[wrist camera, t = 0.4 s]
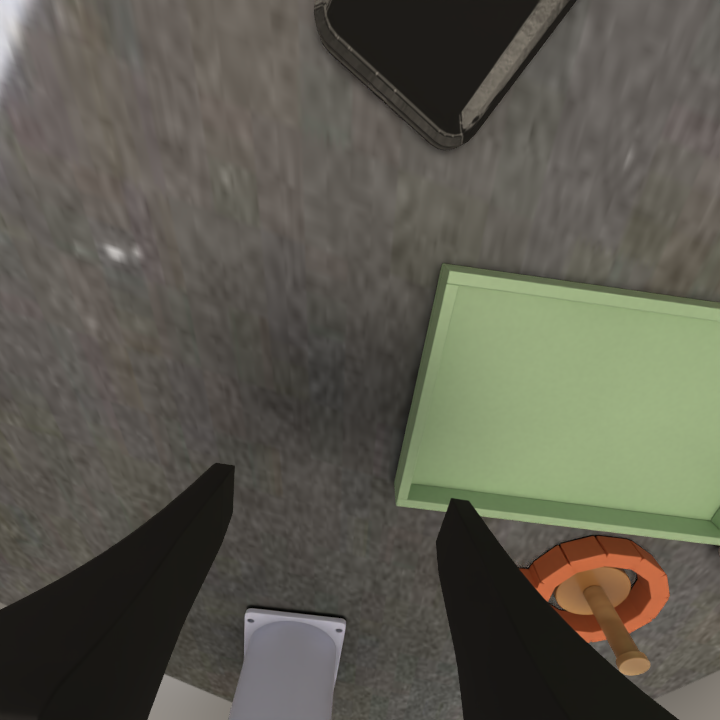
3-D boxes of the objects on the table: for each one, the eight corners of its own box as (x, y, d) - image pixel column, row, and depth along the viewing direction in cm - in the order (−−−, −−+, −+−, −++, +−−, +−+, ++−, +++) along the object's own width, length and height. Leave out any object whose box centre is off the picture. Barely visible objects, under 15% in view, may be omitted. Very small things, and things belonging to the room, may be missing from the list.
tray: (707, 522, 25) (734, 547, 23) (393, 483, 25) (395, 506, 23) (846, 320, 20) (895, 333, 18) (441, 263, 19) (449, 270, 17)
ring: (622, 627, 30) (678, 725, 24) (434, 605, 29) (449, 700, 24) (676, 544, 26) (758, 638, 21) (463, 518, 26) (488, 606, 20)
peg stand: (607, 608, 29) (657, 695, 24) (541, 600, 29) (577, 686, 24) (636, 561, 27) (697, 646, 22) (565, 552, 27) (610, 635, 22)
